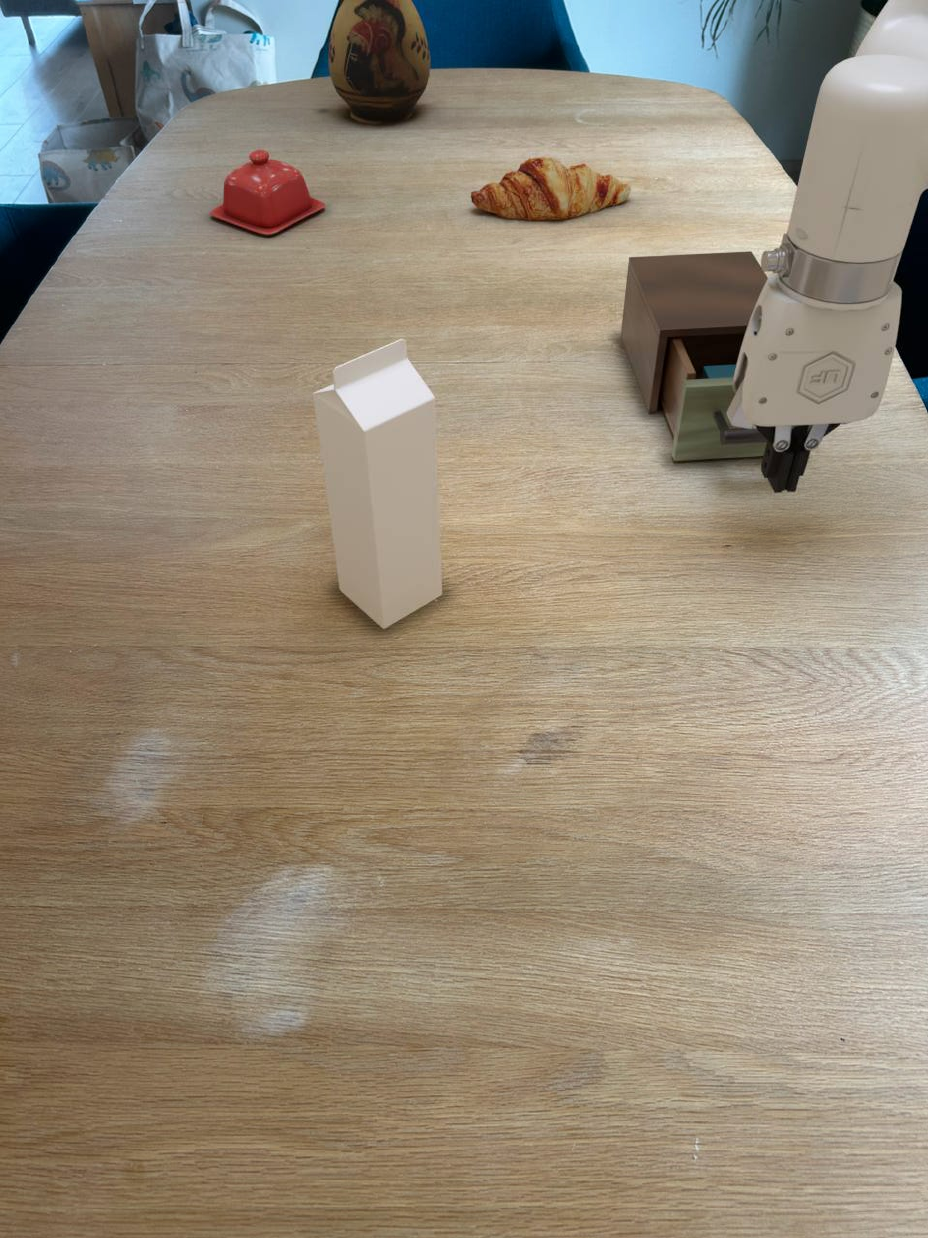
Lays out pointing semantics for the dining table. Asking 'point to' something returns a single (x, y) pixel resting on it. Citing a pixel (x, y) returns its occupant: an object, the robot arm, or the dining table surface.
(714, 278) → the cabinet
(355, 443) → the milk
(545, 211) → the croissant
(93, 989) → the dining table surface
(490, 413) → the dining table surface
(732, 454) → the drawer
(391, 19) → the ceramic jug
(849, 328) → the robot arm
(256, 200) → the butter dish
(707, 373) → the block
